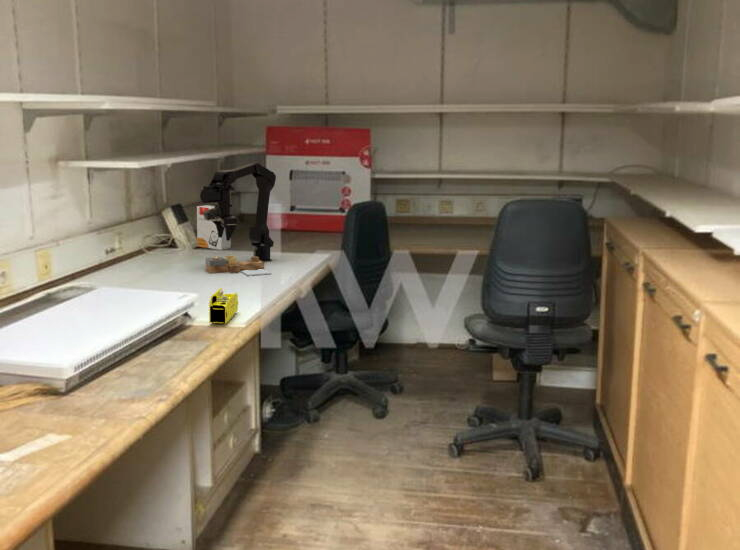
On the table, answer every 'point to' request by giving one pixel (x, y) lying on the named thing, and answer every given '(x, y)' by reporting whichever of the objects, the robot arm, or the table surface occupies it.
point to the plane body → (237, 266)
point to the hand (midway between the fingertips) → (224, 239)
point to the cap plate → (215, 261)
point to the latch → (231, 259)
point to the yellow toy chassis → (222, 307)
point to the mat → (256, 272)
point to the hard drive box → (209, 232)
